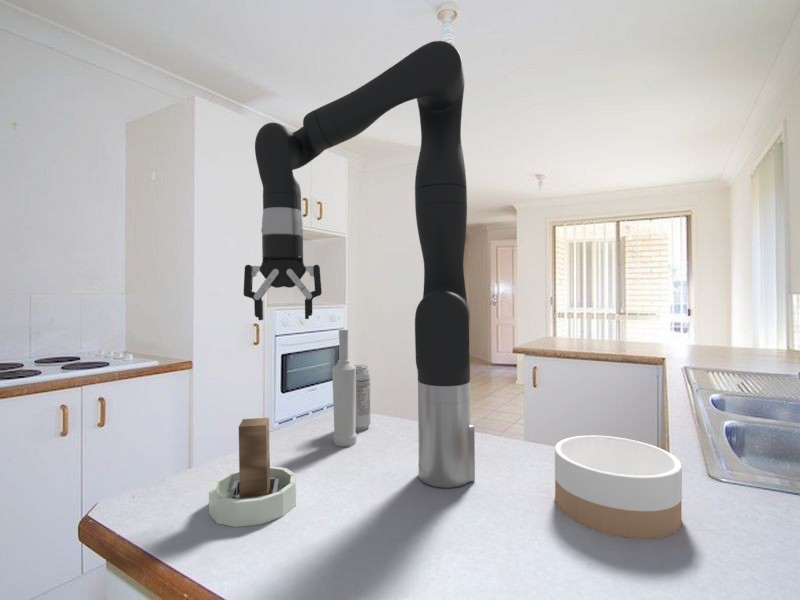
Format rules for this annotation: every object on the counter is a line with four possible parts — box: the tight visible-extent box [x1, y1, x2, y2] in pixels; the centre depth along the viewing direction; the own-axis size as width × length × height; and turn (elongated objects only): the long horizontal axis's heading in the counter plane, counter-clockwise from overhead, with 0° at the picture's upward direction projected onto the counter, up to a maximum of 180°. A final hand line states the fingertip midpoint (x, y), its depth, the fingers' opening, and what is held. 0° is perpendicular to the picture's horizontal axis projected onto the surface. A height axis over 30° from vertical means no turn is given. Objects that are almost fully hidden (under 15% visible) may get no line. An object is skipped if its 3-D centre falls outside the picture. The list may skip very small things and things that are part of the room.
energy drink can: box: [352, 364, 372, 432], centre depth 106 cm, size 6×6×15 cm
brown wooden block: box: [238, 417, 271, 498], centre depth 68 cm, size 4×4×12 cm
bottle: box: [331, 328, 358, 447], centre depth 95 cm, size 5×5×25 cm
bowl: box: [554, 434, 683, 540], centre depth 66 cm, size 17×17×8 cm
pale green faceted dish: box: [208, 465, 297, 528], centre depth 68 cm, size 13×13×4 cm
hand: (284, 319), depth 83 cm, fingers open, 8 cm apart
